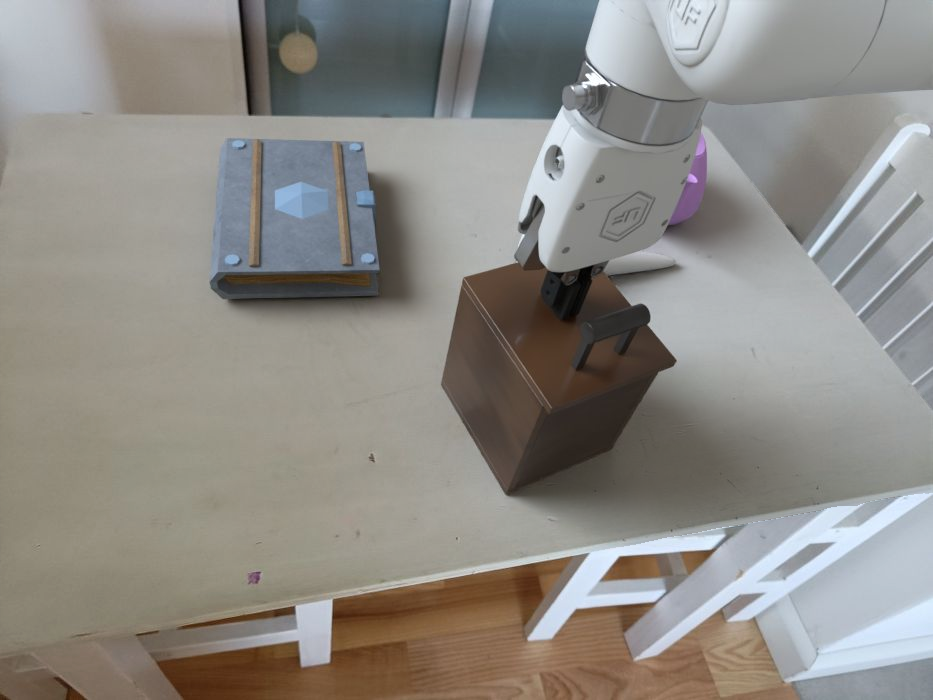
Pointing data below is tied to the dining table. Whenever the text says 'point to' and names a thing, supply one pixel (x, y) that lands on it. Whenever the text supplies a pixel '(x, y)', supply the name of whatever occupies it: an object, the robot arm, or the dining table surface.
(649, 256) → the long cone
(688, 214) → the teapot
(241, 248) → the book
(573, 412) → the chest
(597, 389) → the lid
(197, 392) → the dining table surface
